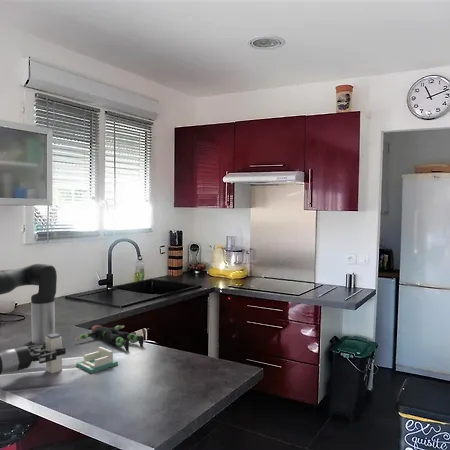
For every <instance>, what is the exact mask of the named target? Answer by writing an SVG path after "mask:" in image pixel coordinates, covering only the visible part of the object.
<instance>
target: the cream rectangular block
mask: <svg viewBox="0 0 450 450" xmlns="http://www.w3.org/2000/svg"><path fill="white" fill-rule="evenodd" d="M62 342H63V337H62V336H61V334H59V333H57V332H55V333H54V334H49V335H47V337H46V344H45V345H46V349H48V350H56V349H60V348H63V343H62ZM50 356H52V355H50ZM45 370H46V372H48V373H50V374H56V373H58V372H62V371H63V355H60V356H56V360H52V361H49V362H45Z"/></svg>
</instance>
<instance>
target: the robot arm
mask: <svg viewBox="0 0 450 450" xmlns="http://www.w3.org/2000/svg"><path fill="white" fill-rule="evenodd" d="M57 281H58V278H57V271H56V268H55V266H53V265H52V264H45V263H35V264H31V265H28V266H24V267H20V268H15V269H13V268H12V269H4V270H0V296H1V295H5V294H8V293H11V292H12V291H13V290H15V289H16V288H18V287H22V286H38V291H37V293H35V294H32V295H31V297H30V303H31V304H30V306H31V308H30V309H31V310H30V312H31V320H30V321H31V322H30V323H31V343H32V345H31V344H30V345H28V346H26V345H20V346H17V347H12V348H8V349H5V350H1V351H0V376H1V375H5V374H10V373H14V372H17V371H22V370H26V369H28V368H29V367H30V366H31V364H32V362H34V363H35V362H37V363H39V364H42V365H43V364H46V362H49V361H52V360H56V356H60V355H62V356H64V355H65V354H67V353H66V348H65V347H62V348H60V349H56V350H48V349H46V337H47V335H49V334H54V333H56V332H55V331H56V326H55V325H56V322H55V319H56V317H55V316H56V315H55V314H56V313H55V311H56V310H55V308H56V307H55V298H56V293H57ZM50 355H52V356H50Z"/></svg>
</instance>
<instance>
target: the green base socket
mask: <svg viewBox="0 0 450 450" xmlns="http://www.w3.org/2000/svg"><path fill="white" fill-rule="evenodd" d="M97 349H98V350H97V351H94V352H91V353H86V354H84V355H83V359H82V360H80V361H79V362H76V364H75V365H76V367H77V366H78V367H77V368H79V367H80V368H79V369H81V368H82V369H81V370H83V369H84V371H85V372H88V373H90V374H93V373H96V372H99V371H103V370H107V369H109V367H110V368H112V367H116V366H119V361H118V360H115V359H114V351H113V350H111V349H107V348H105V347H103V346H98V347H97Z"/></svg>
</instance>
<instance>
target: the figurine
mask: <svg viewBox="0 0 450 450" xmlns="http://www.w3.org/2000/svg"><path fill="white" fill-rule="evenodd" d="M125 327H126V326H125V325H116V326H114V327H107V326H102V325H94V326H92V327H91V332H90V333H89V332H88V333H83V334H80V335H79V336H78V337H75V338H74V339H75V340H76V341H79V340H84V339H85V340H86V339H87V338H91V337H94V336H95V337H96V338H98V339H100V340H106V341H108V342H109V343H111V344H113V345H114V346H117V347H119V348H123V347H124V349H125V351H126V352H129V351H130V343H131V344H136V343H137V342H138V343H139V346H140V348H143V347H144V341H145V340H144V339H145V338H144V336H143V335H137V334H134V333H129V332H128V331H120V330H121V329H123V328H125Z"/></svg>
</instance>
